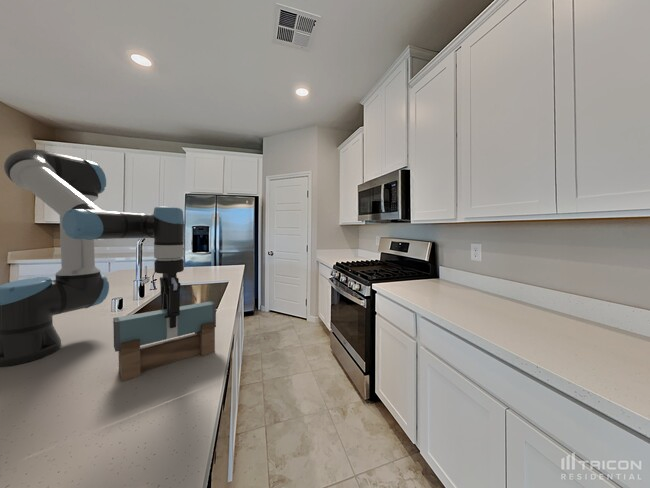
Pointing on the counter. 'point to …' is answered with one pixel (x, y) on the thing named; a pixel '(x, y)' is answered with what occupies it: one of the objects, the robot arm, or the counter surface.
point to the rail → (161, 324)
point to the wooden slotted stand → (164, 351)
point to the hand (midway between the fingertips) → (170, 334)
